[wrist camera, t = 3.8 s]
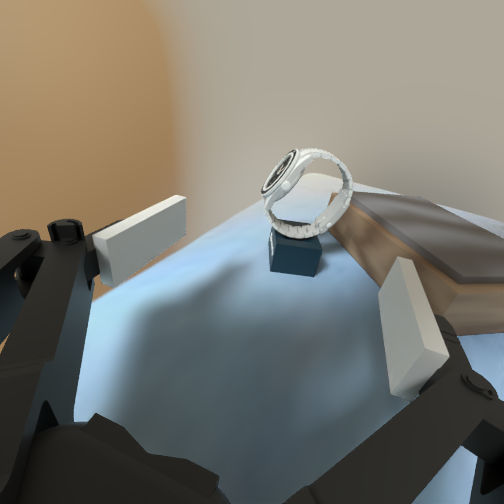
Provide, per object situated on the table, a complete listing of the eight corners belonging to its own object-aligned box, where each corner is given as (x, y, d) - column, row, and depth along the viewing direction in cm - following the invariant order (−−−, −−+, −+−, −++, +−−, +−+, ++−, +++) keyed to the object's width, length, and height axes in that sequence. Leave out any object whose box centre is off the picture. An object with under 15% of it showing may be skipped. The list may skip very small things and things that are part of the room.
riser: (552, 329, 24) (600, 283, 21) (426, 338, 20) (464, 285, 18) (404, 227, 40) (421, 194, 37) (322, 223, 37) (333, 187, 34)
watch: (251, 240, 30) (268, 138, 24) (320, 250, 30) (352, 151, 25) (250, 269, 25) (270, 149, 19) (331, 279, 25) (374, 165, 20)
